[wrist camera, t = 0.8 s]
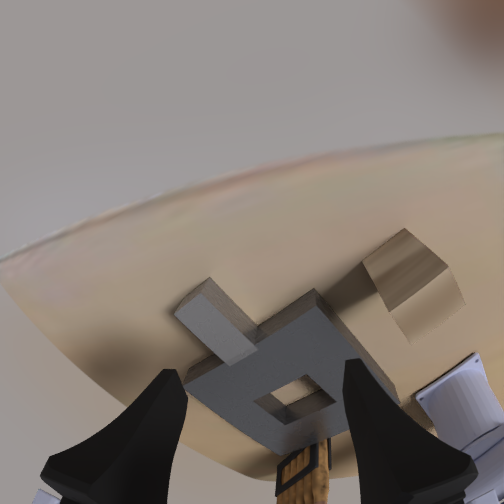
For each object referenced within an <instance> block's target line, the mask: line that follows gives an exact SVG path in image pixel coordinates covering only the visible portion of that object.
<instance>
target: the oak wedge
mask: <svg viewBox="0 0 504 504" xmlns="http://www.w3.org/2000/svg"><path fill="white" fill-rule="evenodd" d="M362 262H363V264H364V266H365V268H366V270H367V271H368V273H369V275H370V277H371V279H372V281H373V282H374V284H375V286H376V288H377V290H378V292H379V294H380V296H381V298H382V300H383V301H384V303H385V305H386V307H387V309H388V311H389V313H390V315H391V316H392V317H393V319H394V320H395V322H396V323H397V325H398V326H399V328H400V329H401V331H402V332H403V334H404V335H405V337H406V338H407V340H408V342H409V343H410V345H413V344H414V343H415V342H417V341H418V340H420V339H421V338H423V337H424V336H425V335H427V334H428V333H430V332H431V331H432V330H434V329H435V328H436V327H438V326H439V325H440V324H442V323H443V322H444V321H446V320H447V319H448V318H450V317H451V316H452V315H453V314H455V313H456V312H457V311H458V310H460V309H461V308H462V307H463V306H465V305H466V303H465V301H464V298H463V296H462V294H461V291H460V289H459V287H458V285H457V282H456V280H455V278H454V276H453V274H452V271H451V269H450V267H449V266H448V265H447V264H446V263H445V262H444V261H443V260H441V259H440V258H439V257H438V256H437V255H436V254H435V253H434V252H432V251H431V250H430V249H429V248H428V247H427V246H426V245H424V244H423V243H422V242H421V241H420V240H419V239H417V238H416V237H415V236H414V235H413V234H411V233H410V232H409V231H408V230H407V229H405V228H404V229H403V230H401V231H400V232H399V233H398V234H396V235H395V236H394V237H393V238H391V239H390V240H389V241H387V242H386V243H385V244H384V245H382V246H381V247H380V248H378V249H377V250H376V251H374V252H373V253H372V254H370V255H369V256H368V257H366V258H365V259H364V260H362Z"/></svg>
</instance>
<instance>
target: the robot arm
mask: <svg viewBox="0 0 504 504" xmlns="http://www.w3.org/2000/svg"><path fill="white" fill-rule="evenodd" d="M342 393H343V401H344V408H345V413H346V417H347V421H348V425H349V429H350V433H351V437H352V440H353V444H354V448H355V452H356V458H357V464H358V473H359V482H360V494H361V504H499V501H501V500H502V499H504V411H503V409H502V408H501V406H500V404H499V402H498V400H497V398H496V397H495V395H494V393H493V391H492V390H491V388H490V386H489V385H488V381H487V378H486V374H485V371H484V368H483V365H482V362H481V358H480V355H479V354H478V353H474V354H473V355H471V356H470V357H469V358H468V359H466V360H465V361H464V362H462V363H461V364H460V365H458V366H457V367H455V368H454V369H453V370H451V371H450V372H448V373H447V374H446V375H444V376H443V377H441V378H440V379H438V380H437V381H435V382H434V383H432V384H431V385H429V386H427V387H426V388H424V389H423V390H421V391H419V392H418V393H417V394H416V395H415V398H416V400H417V401H418V402H419V404H420V405H421V407H422V408H423V409H424V411H425V412H426V413H427V415H428V416H429V418H430V419H431V420H432V422H433V424H434V427H435V429H436V432H437V435H438V438H439V439H438V438H437V437H435V436H434V435H433V434H431V433H430V432H428V431H427V430H425V429H424V428H423V427H421V426H420V425H419V424H418V423H416V422H415V421H414V420H413V419H412V418H411V417H410V416H408V415H407V414H406V413H405V412H404V411H403V410H402V409H401V408H400V407H399V406H398V405H397V404H396V403H395V402H394V401H393V399H392V398H391V397H390V396H389V395H388V394H387V393H386V391H385V390H384V389H383V388H382V387H381V385H380V384H379V383H378V382H377V380H376V379H375V378H374V376H373V375H372V374H371V372H370V371H369V370H368V368H367V367H366V365H365V364H364V362H363V361H362V359H360V358H355V359H349V360H345V369H344V379H343V388H342ZM187 403H188V397H187V395H186V392H185V390H184V388H183V385H182V383H181V381H180V378H179V376H178V373H177V371H176V369H163V370H162V371H161V372H160V373H159V374H158V375H157V376H156V378H155V379H154V380H153V381H152V382H151V383H150V384H149V385H148V387H147V388H146V389H145V390H144V391H143V392H142V393H141V394H140V395H139V396H138V397H137V399H136V400H135V401H134V402H133V403H132V404H131V405H130V406H129V407H128V408H127V409H126V410H125V411H124V412H122V413H121V414H120V415H119V416H118V417H117V418H116V419H115V420H113V421H112V422H111V423H110V424H108V425H107V426H106V427H105V428H103V429H102V430H100V431H99V432H97V433H96V434H94V435H93V436H91V437H90V438H88V439H87V440H85V441H83V442H81V443H80V444H78V445H75V446H74V447H71V448H69V449H67V450H65V451H62V452H60V453H58V454H55V455H52V456H50V457H49V459H48V460H47V462H46V464H45V466H44V468H43V470H42V472H41V474H40V477H41V479H42V480H43V481H44V482H45V483H46V484H48V485H49V486H50V487H51V488H53V489H54V490H55V491H57V492H58V493H59V494H61V495H62V496H63V497H62V499H61V500H60V499H58V498H57V497H55V496H53V495H51V494H49V493H47V492H45V491H43V490H41V489H38V491H37V494H36V496H35V498H34V500H33V502H32V504H167V497H168V488H169V479H170V473H171V467H172V462H173V458H174V454H175V451H176V448H177V444H178V441H179V438H180V434H181V431H182V428H183V424H184V421H185V417H186V410H187ZM501 504H504V502H502V503H501Z"/></svg>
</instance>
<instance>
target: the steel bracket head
mask: <svg viewBox="0 0 504 504" xmlns="http://www.w3.org/2000/svg"><path fill="white" fill-rule="evenodd" d="M174 315H175V316H176V317H177V318H178V319H179V320H180V321H181V322H182V323H183V324H184V325H185V326H186V327H187V328H188V329H189V330H190V331H191V332H192V333H193V334H194V335H196V336H197V337H198V338H199V339H200V340H201V341H202V342H203V343H204V344H205V345H206V346H207V347H208V348H210V349H211V350H212V351H213V352H214V354H213V355H211V356H209V357H208V358H206V359H204V360H203V361H201V362H199V363H198V364H196V365H194V366H193V367H191V368H189V370H188V373H187V375H186V377H185V380H184V382H183V384H182V385H183V388H184V389H185V390H186V391H188V392H189V393H190V394H191V395H193V396H194V397H195V398H196V399H198V400H199V401H200V402H202V403H203V404H204V405H206V406H207V407H208V408H210V409H211V410H212V411H214V412H215V413H216V414H218V415H219V416H220V417H222V418H223V419H225V420H226V421H227V422H229V423H230V424H232V425H233V426H234V427H236V428H237V429H239V430H240V431H242V432H243V433H245V434H246V435H248V436H249V437H251V438H252V439H254V440H255V441H257V442H259V443H260V444H262V445H263V446H265V447H266V448H268V449H270V450H271V451H273V452H275V453H276V454H278V455H280V456H282V455H285V454H288V453H291V452H293V451H296V450H299V449H302V448H305V447H307V446H310V445H313V444H315V443H318V442H320V441H323V440H325V439H328V438H330V437H333V436H335V435H337V434H340V433H342V432H344V431H346V430H349V425H348V421H347V417H346V413H345V408H344V401H343V393H342V388H343V379H344V369H345V360H349V359H355V358H360V359H362V361H363V362H364V364H365V365H366V367H367V368H368V370H369V371H370V372H371V374H372V375H373V376H374V378H375V379H376V380H377V382H378V383H379V384H380V385H381V387H382V388H383V389H384V390H385V391H386V393H387V394H388V395H389V396H390V397H391V398H392V399H393V401H394V402H395V403H396V404H397V405H398V404H400V401H399V398H398V395H397V392H396V389H395V385H394V384H393V383H392V382H391V380H390V379H389V378H388V377H387V375H386V374H385V373H384V372H383V370H382V369H381V368H380V367H379V365H378V364H377V363H376V362H375V361H374V359H373V358H372V357H371V356H370V354H369V353H368V352H367V351H366V350H365V348H364V347H363V346H362V345H361V344H360V342H359V341H358V340H357V339H356V338H355V336H354V335H353V334H352V333H351V331H350V330H349V329H348V328H347V327H346V325H345V324H344V323H343V322H342V321H341V320H340V318H339V317H338V316H337V315H336V314H335V312H334V311H333V310H332V309H331V308H330V306H329V305H328V304H327V303H326V302H325V300H324V299H323V298H322V297H321V296H320V295H319V293H318V292H317V291H316V290H315V289H312V290H311V291H309V292H308V293H306V294H305V295H304V296H302V297H301V298H299V299H298V300H296V301H295V302H293V303H292V304H290V305H289V306H288V307H286V308H285V309H283V310H282V311H280V312H279V313H277V314H276V315H274V316H273V317H271V318H270V319H268V320H267V321H265V322H264V323H262V324H260V325H259V326H257V325H256V324H255V323H254V322H253V321H252V320H251V319H250V318H249V317H248V316H247V315H246V314H245V313H244V312H243V311H242V310H241V309H240V308H239V307H238V306H237V305H236V304H235V303H234V302H233V301H232V300H231V299H230V298H229V297H228V296H227V295H226V294H225V292H224V291H223V290H222V289H221V288H220V287H219V286H218V285H217V284H216V283H215V282H214V281H213V280H212V279H211V278H210V277H209V278H208V279H207V280H206V281H204V282H203V283H202V284H201V285H199V286H198V287H197V288H196V289H195V290H193V291H192V292H191V293H190V294H188V295H187V296H186V297H185V298H184V299H183V301H182V302H181V304H180V305H179V307H178V308H177V310H176V311H175V313H174ZM306 374H307V375H308V376H309V377H310V378H311V379H312V380H314V381H315V382H316V383H317V384H318V385H319V386H320V387H321V388H322V389H321V390H319V391H317V392H315V393H313V394H311V395H309V396H307V397H305V398H303V399H301V400H299V401H296V402H294V403H292V404H290V405H288V406H285V405H284V404H283V403H282V402H280V401H279V400H278V399H277V398H275V397H274V396H273V395H272V394H270V392H273V391H275V390H277V389H279V388H281V387H283V386H285V385H287V384H289V383H290V382H292V381H294V380H296V379H298V378H300V377H302V376H304V375H306Z"/></svg>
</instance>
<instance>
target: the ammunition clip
mask: <svg viewBox="0 0 504 504" xmlns="http://www.w3.org/2000/svg"><path fill="white" fill-rule="evenodd" d="M329 470H331V437H330V438H328V439H325V440H323V441H320V442H318V443H315V444H313V445H310V446H307V447H305V448H302V449H299V450H296V451H293V452H292V453H291V454H290V455H289V456H288V457H287V458H286V459H285V460H284V461H282V462H281V463H280V464H279V465H278V466H277V479H276V491H275V496H276V497H277V504H327V497H328V492H329Z"/></svg>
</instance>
